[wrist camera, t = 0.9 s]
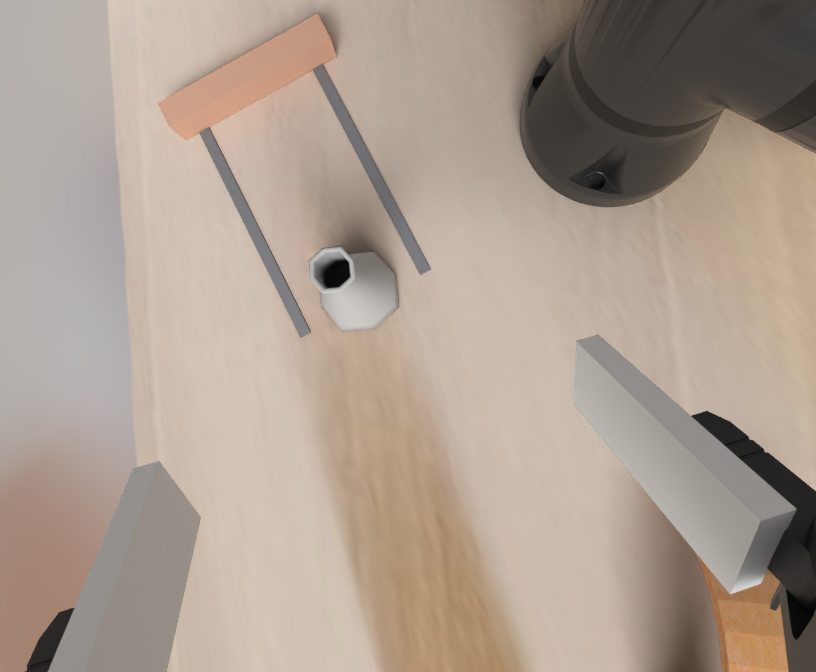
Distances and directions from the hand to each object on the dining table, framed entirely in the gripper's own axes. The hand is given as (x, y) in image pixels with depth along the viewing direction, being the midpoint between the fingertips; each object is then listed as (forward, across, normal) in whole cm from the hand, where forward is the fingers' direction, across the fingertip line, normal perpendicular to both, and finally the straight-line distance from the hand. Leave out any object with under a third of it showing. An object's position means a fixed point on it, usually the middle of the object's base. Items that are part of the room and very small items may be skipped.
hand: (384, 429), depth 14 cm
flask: (+25, 0, -7) cm, 26 cm away
